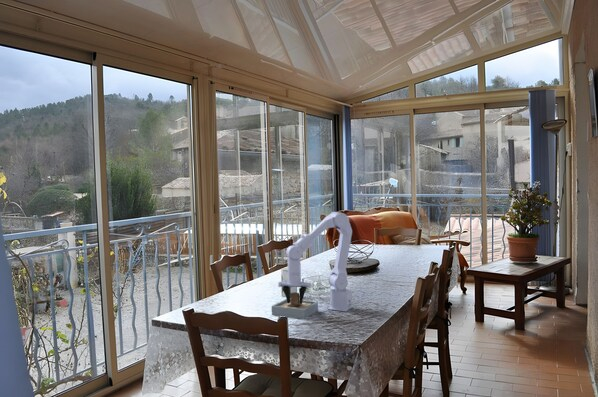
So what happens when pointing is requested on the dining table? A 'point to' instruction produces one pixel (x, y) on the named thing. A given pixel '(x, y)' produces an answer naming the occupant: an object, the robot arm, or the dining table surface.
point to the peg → (295, 299)
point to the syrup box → (286, 280)
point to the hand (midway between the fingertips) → (295, 303)
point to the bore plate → (296, 307)
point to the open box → (294, 310)
